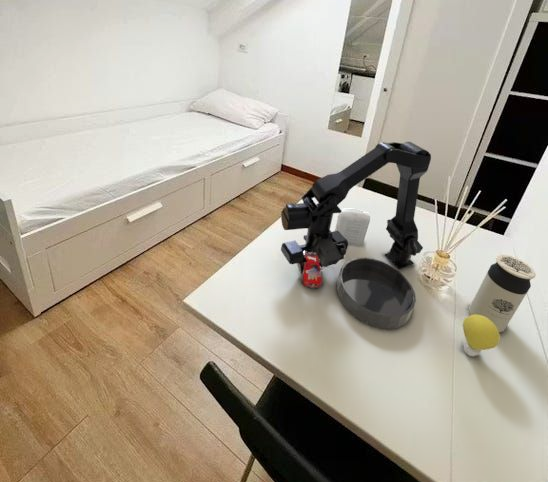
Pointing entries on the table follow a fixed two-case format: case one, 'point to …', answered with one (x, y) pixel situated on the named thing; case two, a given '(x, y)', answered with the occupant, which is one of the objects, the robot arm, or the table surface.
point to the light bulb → (479, 334)
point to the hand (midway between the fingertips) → (310, 269)
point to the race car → (312, 271)
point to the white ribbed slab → (353, 225)
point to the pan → (376, 293)
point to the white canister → (502, 290)
